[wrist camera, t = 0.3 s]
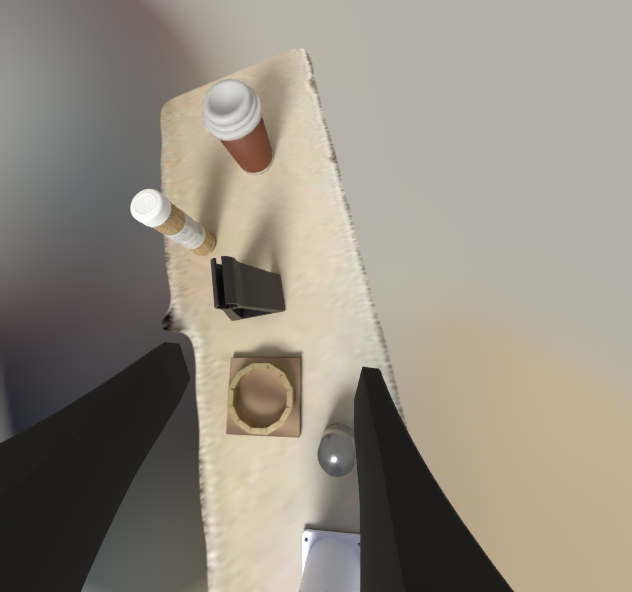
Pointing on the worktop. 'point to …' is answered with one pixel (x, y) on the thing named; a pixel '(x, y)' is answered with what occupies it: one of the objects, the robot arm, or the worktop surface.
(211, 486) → the worktop surface
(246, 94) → the coffee cup
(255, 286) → the phone stand
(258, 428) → the ring plate
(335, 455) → the cylinder
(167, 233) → the sprinkles bottle
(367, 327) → the worktop surface
